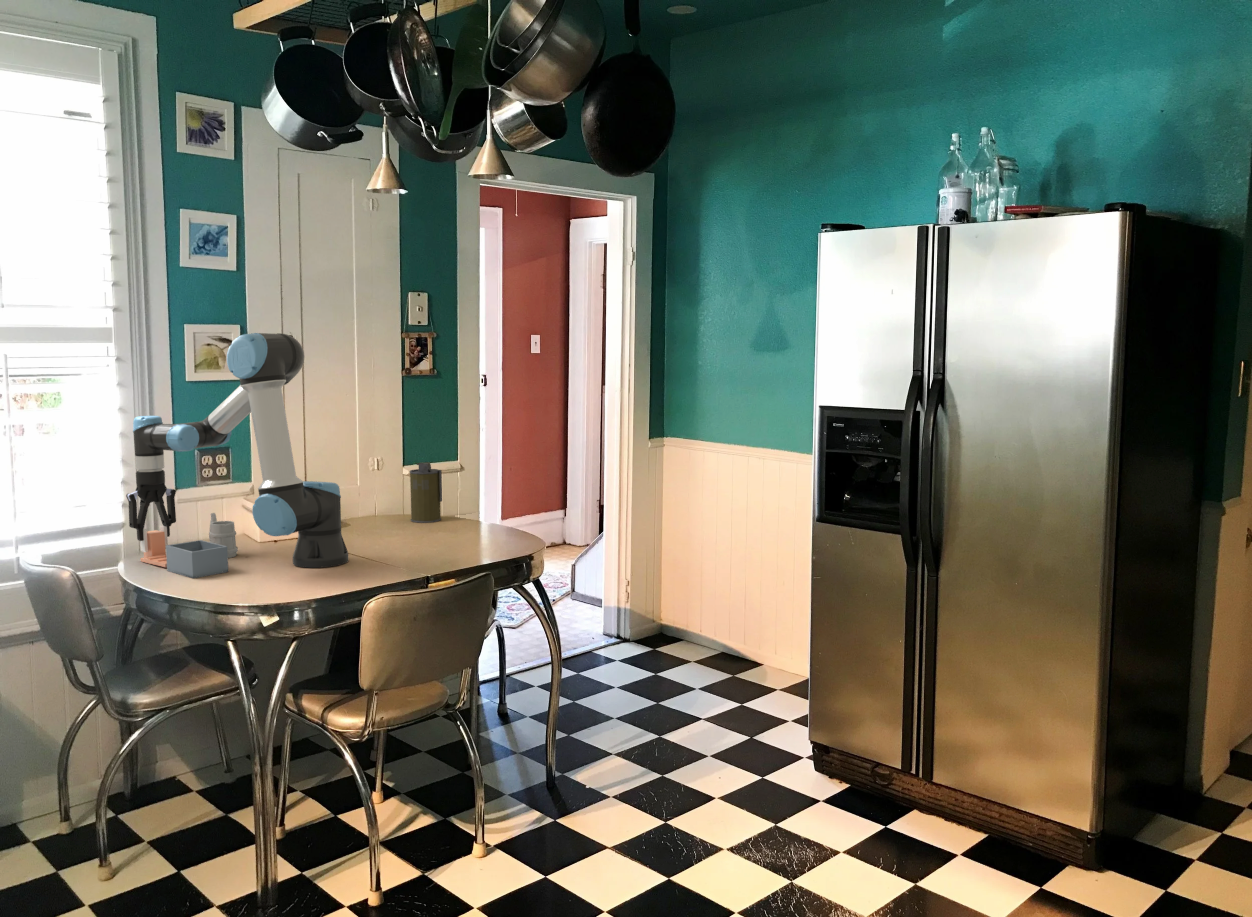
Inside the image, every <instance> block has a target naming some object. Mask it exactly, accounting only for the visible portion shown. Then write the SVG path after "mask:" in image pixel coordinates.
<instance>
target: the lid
mask: <svg viewBox="0 0 1252 917" xmlns="http://www.w3.org/2000/svg"><path fill="white" fill-rule="evenodd" d="M147 543H148V552H143V557H140V562H142V563H146V564H149V565H154V566H159V567H163V568H167V558H166V549H165V534H164V532H163V531H160V530H158V529H154V530H147Z"/></svg>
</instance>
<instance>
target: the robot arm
mask: <svg viewBox="0 0 1252 917" xmlns="http://www.w3.org/2000/svg"><path fill="white" fill-rule="evenodd" d="M304 363H305V351H304V349H303V346H302V344H301V343H300V341H298V339H296V338H295V337H294V336H292V335H289V334H286V333H263V332H253V333H243V334H241V335H239V336H237V337H236V338H235V339H233V340H232V341H231V344H230V345H229V347H228V349H227V352H226V365H227V368H228V370H229V371H230V373H232V375H233V376H234V377H235V378H237V379H239V383H240V384H239V386H238V387H237V388H236V389H234V390H233V391H232V392H231V394H230V395H228V396H227V397H226V399H224V400H223V401H222V402H221V403H220V404H219V405H218V406H217V407H216V408H215V409H214V410H213V411H212V412H211V413H209V415H207V416H206V417H205V418H204V419H203V420H200V421H193V422H184V423H183V422H182V423H164V422H163V419H162V417H161V416H160V415H139V416H135V417H134V419H133V423H132V424H133V428H132V433H133V444H134V446H133V448H134V460H135V461H134V464H135V470H137V471H136V472H135V480H136V481H135V482H136V488H135V491H132V492H131V493H129V492H128V493H126V495H125V497H126V500H127V501H128V526H129V528H132V529H135V530H136V539H137V541H139V542H140V544H139V545H140V551H141V552H142V553H144V552H148V543H147V531H148V529H146V528H145V524H146V519H147V515H148V514H147V513H148V510H149V507H150V506H151V503H154V504H155V506H156V508H157V512H158V515H159V518H160V521H161V524H162V525H159V531H163V532H164V534H165V550H166V545H169V544H168V537H170V536H171V531H170V530H171V529H170V527H171V526H172V524H175V523H177V515H176V501H175V497H176V493H177V490H176V489H175V488H167V486H166V474H165V473H166V472H165V470H164V469H165V455H164V454H165V453H164V452H165V451H171V452H172V451H173V452H178V453H183V452H190V451H193V450H194V449H200V448H208V447H210V448H211V447H219V446H221V445H225V444H227V443H229V441H230V440H231V437H232V431H233V430H234V429H235V428H236V427H237V426H238V425H239V424H240V423H241V422H242V421H243V420H244V419H246V417H247V416H249V414H251V419H252V425H253V430H254V437H255V442H256V447H257V454H258V460H259V466H260V471H261V478H262V482H261V483H260V485H259V486H258V488H257V491H258V497H257V498H256V499H255V500H254V504H252V508H251V509H252V510H251V511H252V518H253V519H254V520H253V521H254V523H255V524H256V526H257V527H258V528H259V529H260V530H261V531H263V533H265V534H266V535H268V536H271V537H282V536H289V535H291V534H296V533H298V534H297V541H296V543H295V547H294V551H293V553H292V564H293V566H295V567H299V568H310V569H311V568H312V569H313V568H318V569H319V568H329V567H337V566H341V565H345V564H346V563H348V562H349V552H348V549H347V546H346V543H345V540H344V538H343V535H342V514H341V512H342V511H341V509H342V508H341V506H342V505H341V498H342V496H341V491H340V490H341V489H340V486H339V484H338V483H336V482H330V481H329V482H328V481H316V480H315V481H312V480H311V481H307V480H306V481H304V480H302V479H301V478H299V477H298V476H297V474H296V467H295V462H294V456H293V451H292V444H291V437H290V431H289V425H288V420H287V413H286V407H285V401H284V395H283V386H286V385H288V384H289V383H290V382H291V381H293V379H295V377H296V376H298V374H299V373H300V371H301V370H302V368H303V367H304ZM165 495H166V505H165V500H164V498H163V497H164V496H165ZM138 498H139V499H140V500H139V509H138V504H137V503H138V502H137V500H138ZM165 506H166V507H165Z"/></svg>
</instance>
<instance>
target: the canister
mask: <svg viewBox="0 0 1252 917" xmlns="http://www.w3.org/2000/svg"><path fill="white" fill-rule="evenodd" d="M416 465H417V466H418V468H417V469H411V470H409V476H410V477H409V482H410V486H409V487H410V515H411V516H410V522H412V523H417V524H422V523H423V524H427V523H428V524H429V523H436V522H440V521H442V517H441V516H442V515H441V502H443V481H442V479H443V478H442V477H443V476H442V472H443V471H442V469H437V468H432V466H431V465H432V464H431V462H418V463H416Z"/></svg>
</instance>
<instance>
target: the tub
mask: <svg viewBox="0 0 1252 917" xmlns="http://www.w3.org/2000/svg"><path fill="white" fill-rule="evenodd" d="M165 551H166V558H167V567H166V570H167V572H170V573H173V574H176V575H180V576H183V577H187V578H190V579H197V578H202V577H208V576H214V575H219V574H224V573H228V572H229V558H228V553H227V546H223V545H219V544H215V543H211V542H210V541H206V540H204V539H203V540H202V539H199V540H192V541H187V542H186V541H185V542H180V543H174V544H173V543H172V544H168V545H166V549H165Z"/></svg>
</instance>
